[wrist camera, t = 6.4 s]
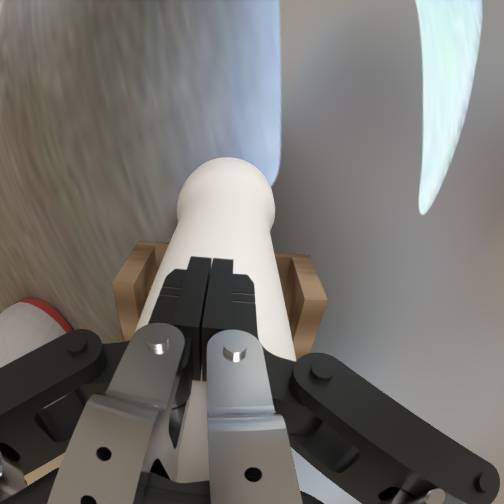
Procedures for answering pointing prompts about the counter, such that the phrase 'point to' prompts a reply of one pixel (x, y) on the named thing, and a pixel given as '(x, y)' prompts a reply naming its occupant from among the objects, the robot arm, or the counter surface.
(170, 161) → the counter surface
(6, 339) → the citrus juicer
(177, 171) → the counter surface
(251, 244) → the bottle
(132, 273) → the brown wooden open box
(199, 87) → the counter surface
